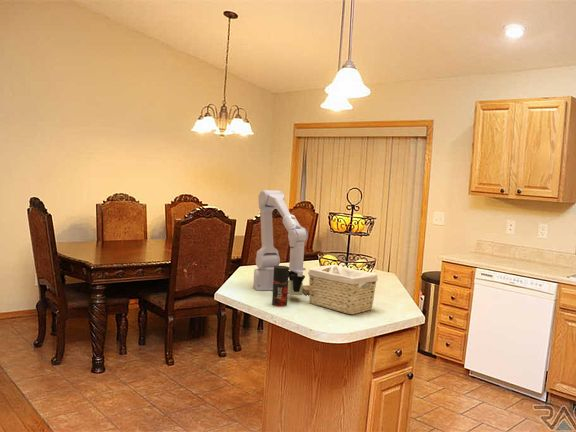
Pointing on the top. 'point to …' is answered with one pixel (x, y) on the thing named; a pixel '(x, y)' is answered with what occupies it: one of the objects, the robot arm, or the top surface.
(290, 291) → the beige cube
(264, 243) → the robot arm
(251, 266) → the top surface
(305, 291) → the walnut slab
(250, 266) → the top surface
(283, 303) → the deodorant
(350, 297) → the storage basket
